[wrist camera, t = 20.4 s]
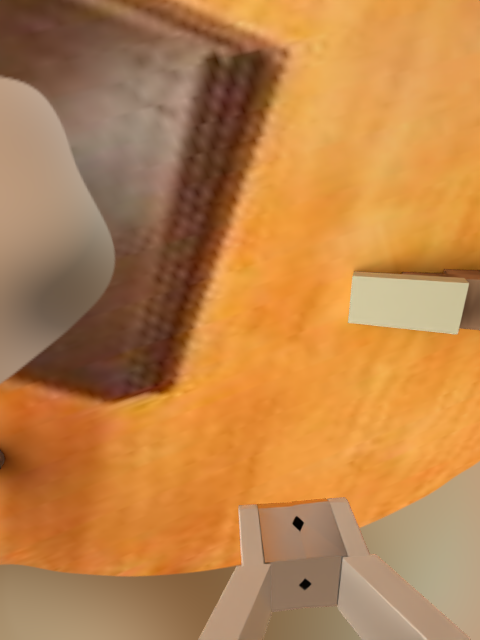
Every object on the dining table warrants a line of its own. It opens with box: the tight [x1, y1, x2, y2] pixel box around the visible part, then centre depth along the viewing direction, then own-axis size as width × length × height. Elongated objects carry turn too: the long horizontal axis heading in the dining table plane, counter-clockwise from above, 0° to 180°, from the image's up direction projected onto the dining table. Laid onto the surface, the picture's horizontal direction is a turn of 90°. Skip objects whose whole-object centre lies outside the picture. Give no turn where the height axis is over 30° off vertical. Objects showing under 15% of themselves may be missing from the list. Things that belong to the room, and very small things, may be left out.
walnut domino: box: [402, 272, 480, 330], centre depth 35 cm, size 5×2×10 cm
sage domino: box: [348, 271, 469, 334], centre depth 35 cm, size 5×2×10 cm
